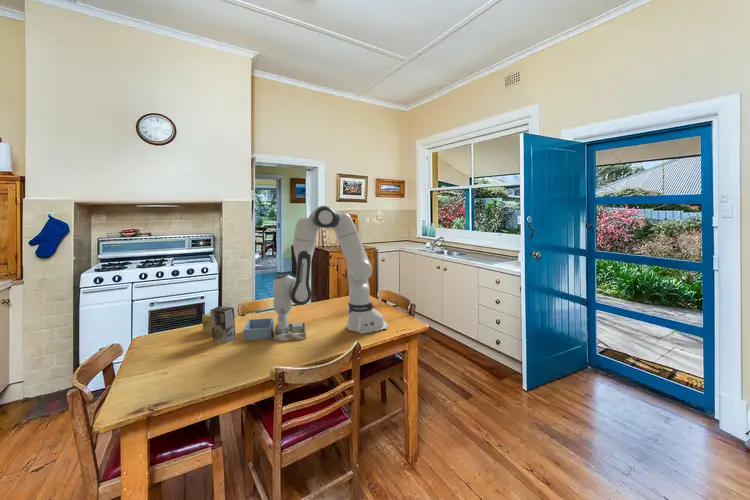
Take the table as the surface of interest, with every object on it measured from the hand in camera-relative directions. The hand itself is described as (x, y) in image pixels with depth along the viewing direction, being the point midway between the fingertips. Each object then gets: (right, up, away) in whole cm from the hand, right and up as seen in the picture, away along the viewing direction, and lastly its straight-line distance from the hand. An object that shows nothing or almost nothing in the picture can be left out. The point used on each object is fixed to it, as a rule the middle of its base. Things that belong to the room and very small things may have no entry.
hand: (283, 331), depth 166 cm
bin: (-13, -1, +1) cm, 13 cm away
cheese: (-37, -1, +5) cm, 37 cm away
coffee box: (-28, -3, -6) cm, 29 cm away
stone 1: (0, -2, 0) cm, 2 cm away
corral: (+3, -2, +1) cm, 4 cm away
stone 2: (+7, -2, +2) cm, 7 cm away
